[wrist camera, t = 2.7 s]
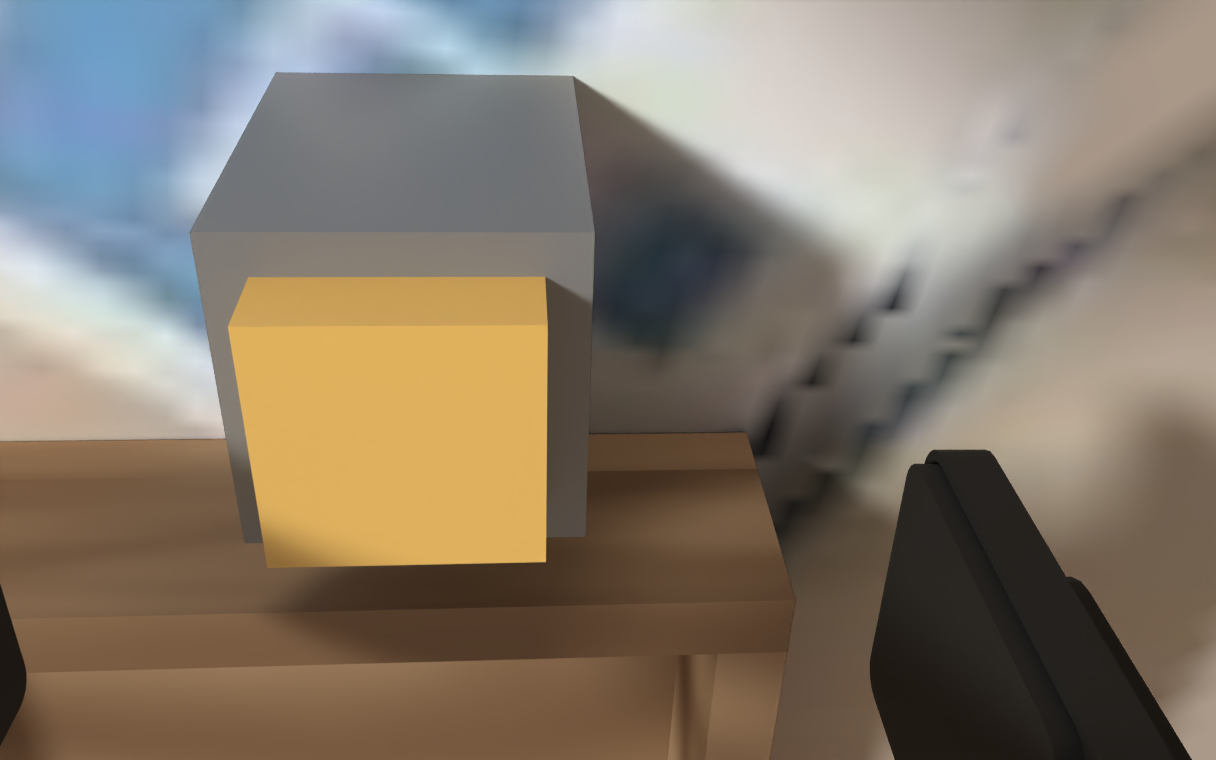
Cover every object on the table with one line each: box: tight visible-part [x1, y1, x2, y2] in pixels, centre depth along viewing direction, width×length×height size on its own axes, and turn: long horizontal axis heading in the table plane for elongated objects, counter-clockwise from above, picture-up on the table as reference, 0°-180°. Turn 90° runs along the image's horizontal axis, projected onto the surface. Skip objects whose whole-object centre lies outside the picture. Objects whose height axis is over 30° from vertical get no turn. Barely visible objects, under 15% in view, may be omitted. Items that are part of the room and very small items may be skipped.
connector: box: [190, 72, 595, 568], centre depth 14 cm, size 4×4×6 cm
